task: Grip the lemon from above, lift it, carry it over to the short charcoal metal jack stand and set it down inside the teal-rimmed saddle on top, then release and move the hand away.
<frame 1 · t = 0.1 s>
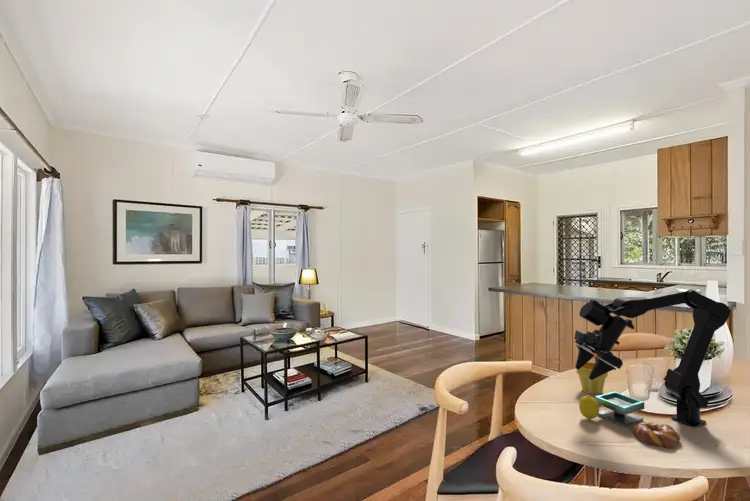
hand: (583, 373, 118), 15 cm above the table, tool tilted 30°, fingers open, 9 cm apart
pretzel: (656, 439, 106), on the table
lemon: (589, 420, 118), on the table
jack stand: (619, 418, 118), on the table
plant pot: (592, 391, 140), on the table
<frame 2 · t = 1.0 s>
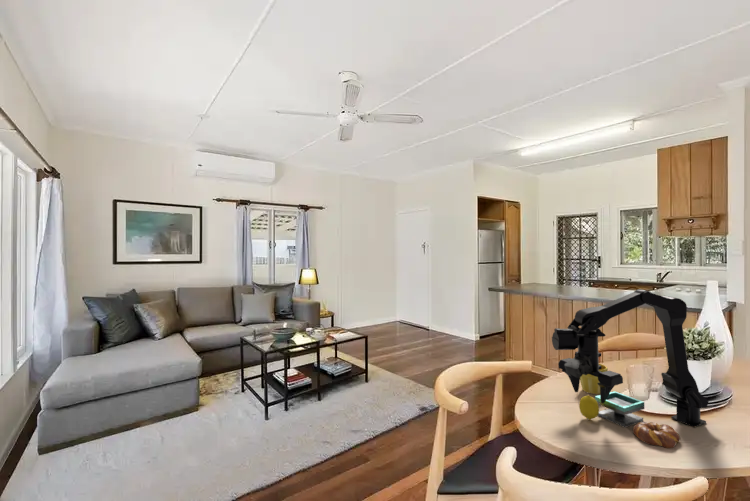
hand: (589, 397, 118), 7 cm above the table, tool pointing down, fingers open, 9 cm apart
nothing on the table moved.
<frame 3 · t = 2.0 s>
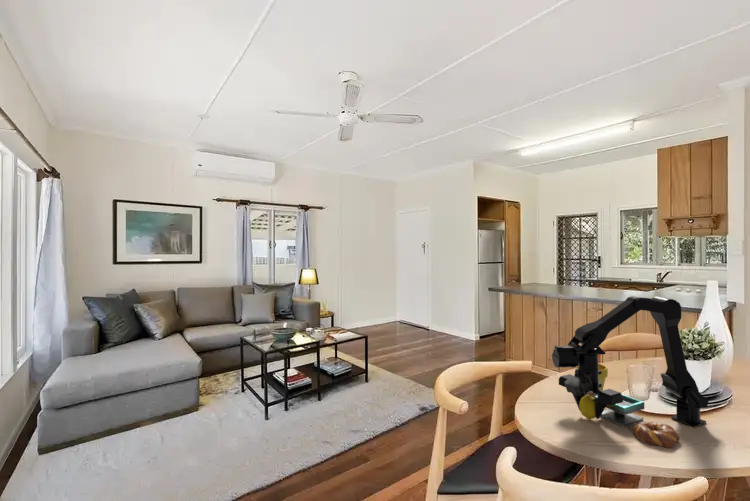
hand: (589, 414, 118), 2 cm above the table, tool pointing down, fingers closed on lemon, 5 cm apart
lemon: (589, 420, 118), on the table, touching gripper
everything else where it was.
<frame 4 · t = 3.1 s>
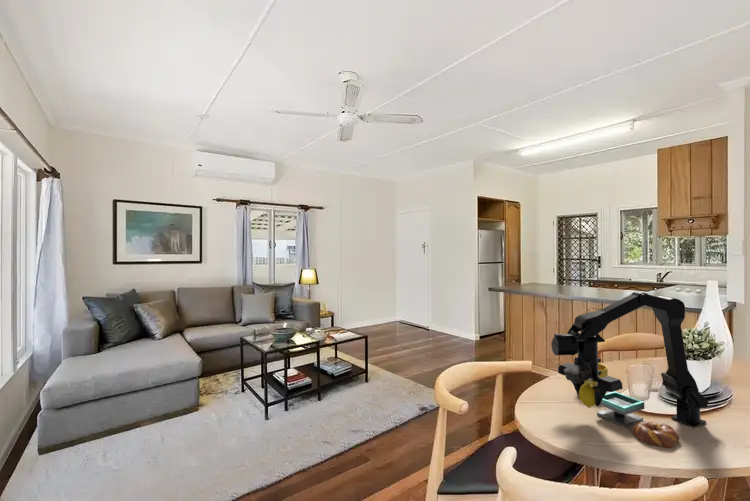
hand: (588, 402, 118), 6 cm above the table, tool pointing down, fingers closed on lemon, 5 cm apart
lemon: (588, 408, 118), point 4 cm above the table, touching gripper
everything else where it was.
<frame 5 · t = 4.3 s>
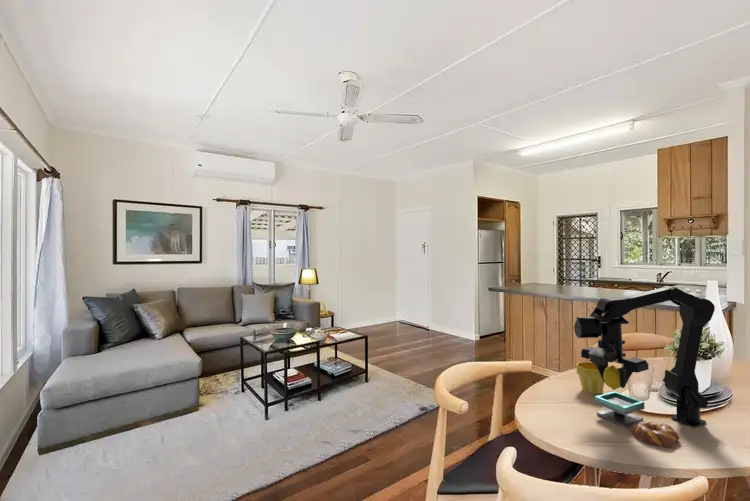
hand: (613, 384, 118), 11 cm above the table, tool pointing down, fingers closed on lemon, 5 cm apart
lemon: (613, 390, 118), point 9 cm above the table, touching gripper
everything else where it was.
when the fingers open (8 cm above the table, at t = 5.6 s): lemon drops 1 cm, point 5 cm above the table.
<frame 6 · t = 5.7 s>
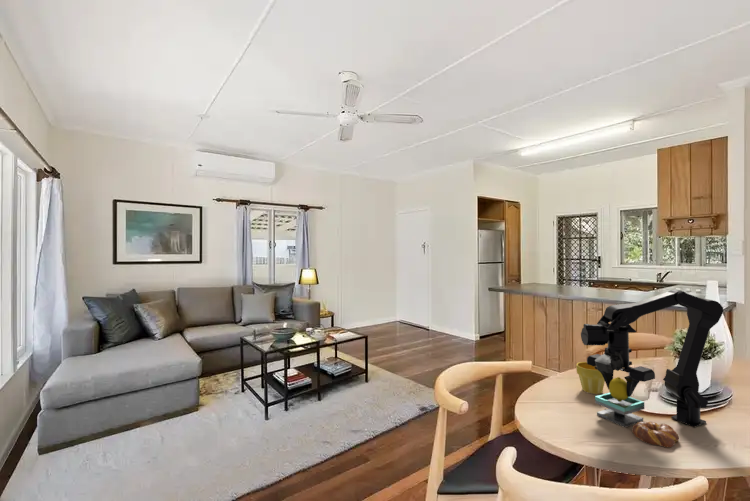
hand: (619, 392, 118), 8 cm above the table, tool pointing down, fingers open, 6 cm apart
lemon: (619, 402, 118), point 5 cm above the table
everything else where it was.
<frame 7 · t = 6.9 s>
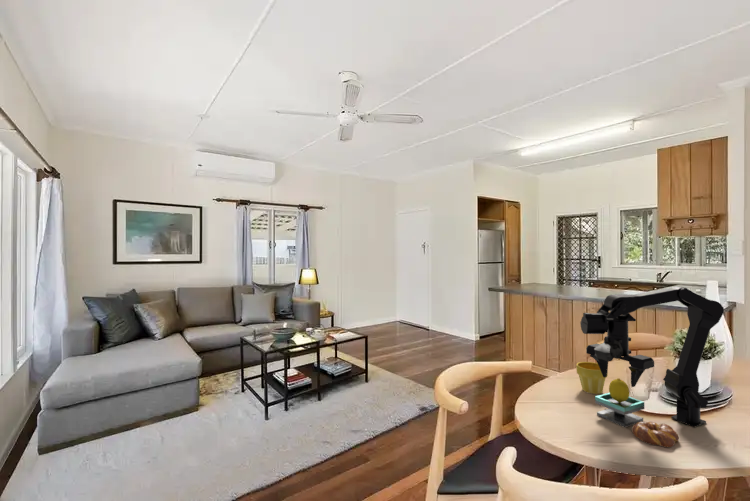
hand: (618, 381, 118), 12 cm above the table, tool pointing down, fingers open, 9 cm apart
lemon: (619, 403, 118), point 5 cm above the table, touching jack stand
everything else where it was.
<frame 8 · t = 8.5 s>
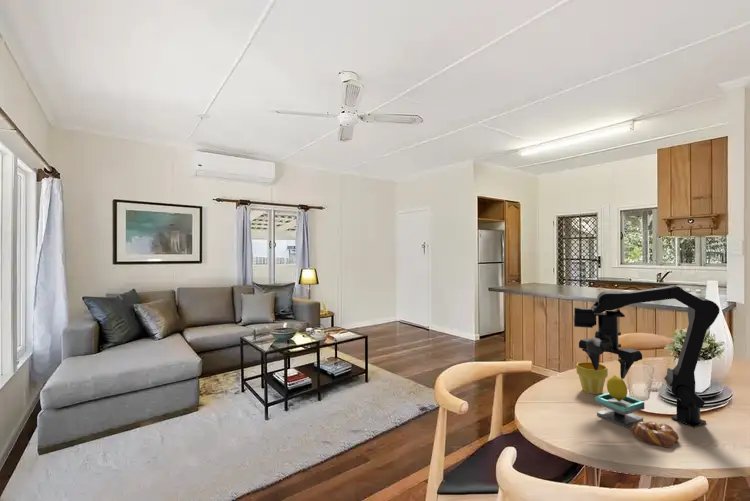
hand: (608, 374, 124), 12 cm above the table, tool pointing down, fingers open, 9 cm apart
lemon: (619, 402, 118), point 5 cm above the table, touching gripper, jack stand
everything else where it was.
at the end: lemon 0.1 cm off-centre on the jack stand, point 5.2 cm above the jack stand's base; the gripper is holding nothing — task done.
